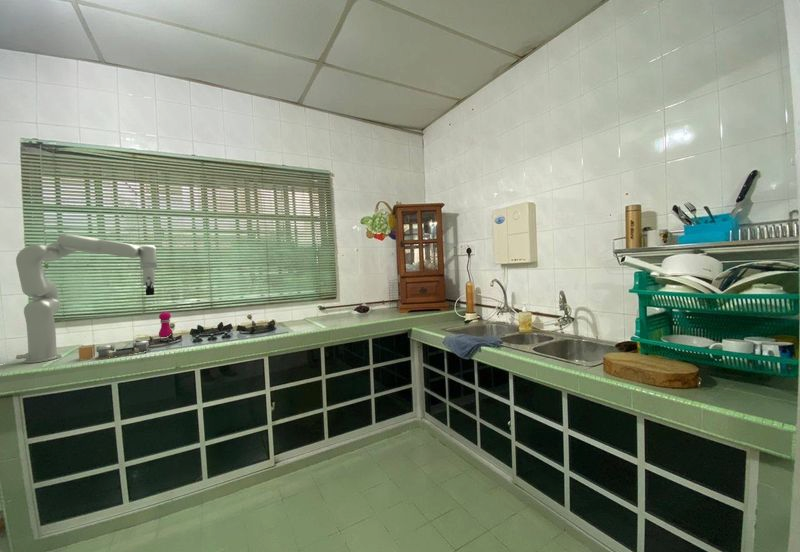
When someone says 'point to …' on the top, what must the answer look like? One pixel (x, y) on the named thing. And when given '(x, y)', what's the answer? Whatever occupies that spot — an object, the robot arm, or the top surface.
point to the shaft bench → (121, 350)
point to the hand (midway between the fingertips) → (150, 294)
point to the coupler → (86, 352)
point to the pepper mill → (165, 324)
